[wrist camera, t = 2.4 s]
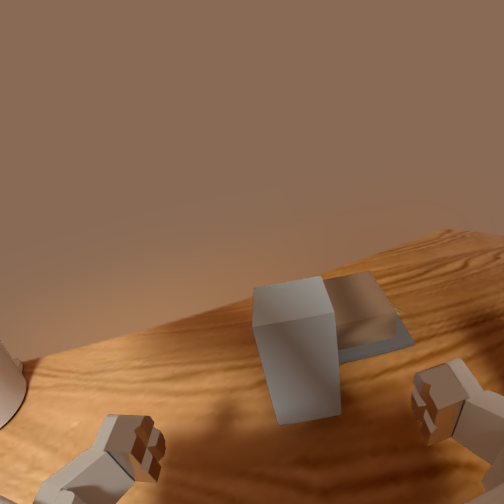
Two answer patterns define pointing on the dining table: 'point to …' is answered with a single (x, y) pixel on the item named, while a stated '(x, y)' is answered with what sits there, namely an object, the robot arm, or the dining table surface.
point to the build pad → (378, 345)
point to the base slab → (360, 310)
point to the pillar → (298, 349)
